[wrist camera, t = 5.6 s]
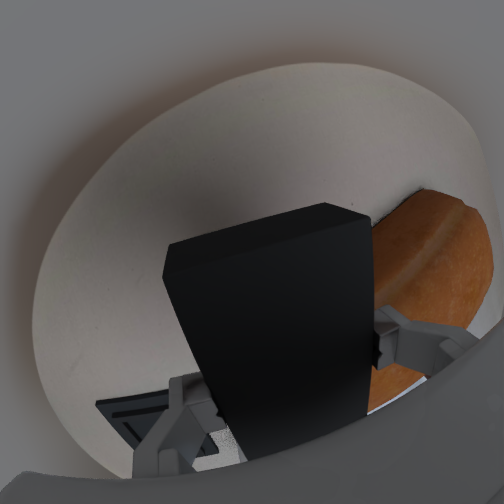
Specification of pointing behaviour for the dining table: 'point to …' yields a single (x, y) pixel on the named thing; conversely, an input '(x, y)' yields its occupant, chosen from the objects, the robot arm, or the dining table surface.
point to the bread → (428, 272)
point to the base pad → (142, 417)
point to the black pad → (280, 322)
